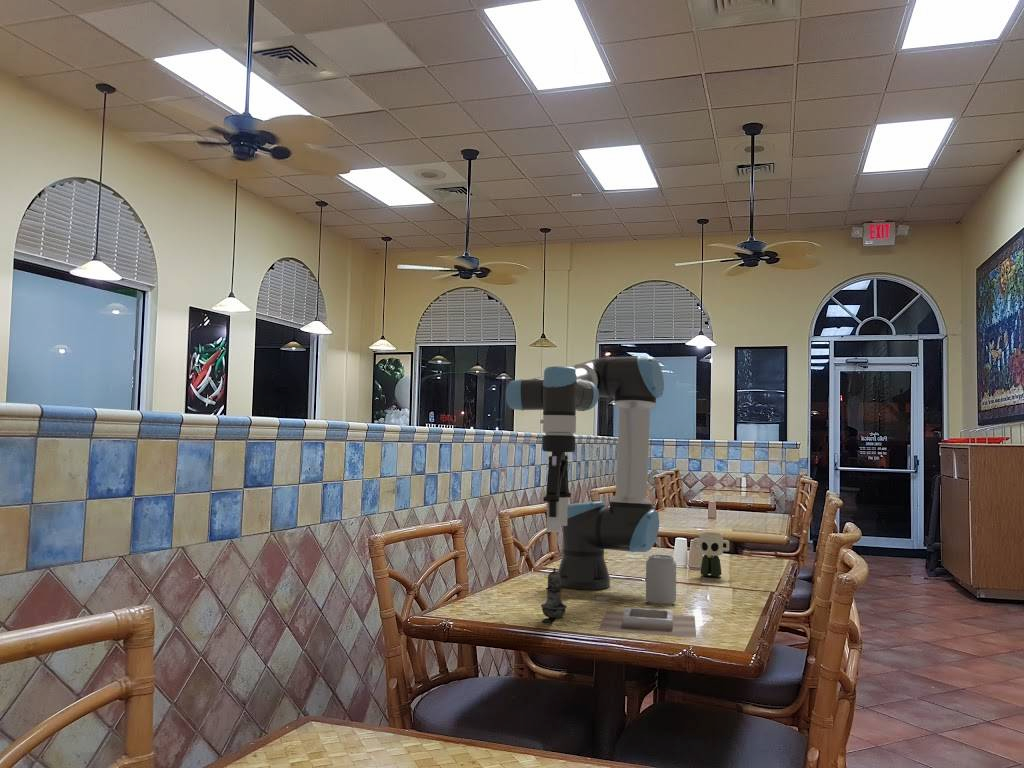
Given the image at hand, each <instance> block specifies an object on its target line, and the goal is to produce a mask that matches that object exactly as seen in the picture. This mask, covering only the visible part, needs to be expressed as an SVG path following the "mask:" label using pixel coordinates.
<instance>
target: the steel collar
mask: <svg viewBox="0 0 1024 768" xmlns="http://www.w3.org/2000/svg"><path fill="white" fill-rule="evenodd" d="M624 612H625V613H624V616H623V627H635V628H649V629H664V630H673V615H674V610H673V609H661V608H644V607H629V606H627V607H625V611H624Z"/></svg>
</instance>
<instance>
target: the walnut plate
mask: <svg viewBox="0 0 1024 768" xmlns="http://www.w3.org/2000/svg"><path fill="white" fill-rule="evenodd" d="M624 613H625V611H621V610H606V612H605V614H604V615H603V616H604V617H603V619H602V621H601V623H600V626H599V628H598V631H601V632H613V633H614V632H615V633H627V634H628V633H629V634H639V635H641V634H643V635H657V636H671V637H683V638H684V637H685V638H697V628H696V617H695V615H684V614H683V615H682V614H681V615H680V614H673V630H664V629H649V628H635V627H623V616H624Z"/></svg>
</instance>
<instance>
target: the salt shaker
mask: <svg viewBox="0 0 1024 768" xmlns="http://www.w3.org/2000/svg"><path fill="white" fill-rule="evenodd" d="M557 572H558V571H557V569H556V568H555V567H554V568H553V570H552V571H551V572H549V573H548V575H547V587H545V590H546V591H547V594H546V595H547V596H546V601H545V603H542V604H541V605H540V607H541V610H542V613H543V615H544V616H545V618H543V619H542V620H541V623H542V624H545V625H550V626H552V625H553V624H554V622H556V620H557V619H559V618H562V617H563V616H564V615H565V614H566V609H567V608H568V605H567V604H564V603H563V602H562V598H561V597H562V590H563V587H561V575H560V574H559V573H557Z"/></svg>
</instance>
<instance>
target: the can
mask: <svg viewBox="0 0 1024 768" xmlns="http://www.w3.org/2000/svg"><path fill="white" fill-rule="evenodd" d="M674 558H675V557H674V556H673V555H668V554H649V555H648V559H647V560H646V561H645V600H646V601H647V602H648V604H650V605H654V606H667V607H671V606H673V605H674V603H676V602H677V563H676V561H675V560H674Z"/></svg>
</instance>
